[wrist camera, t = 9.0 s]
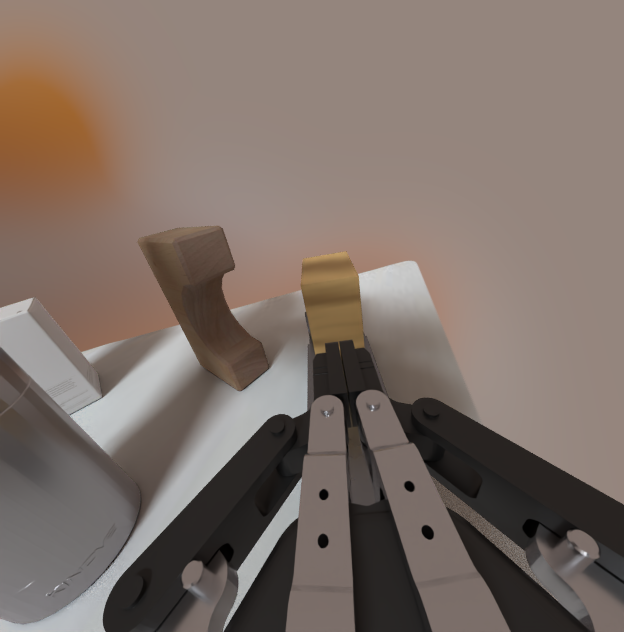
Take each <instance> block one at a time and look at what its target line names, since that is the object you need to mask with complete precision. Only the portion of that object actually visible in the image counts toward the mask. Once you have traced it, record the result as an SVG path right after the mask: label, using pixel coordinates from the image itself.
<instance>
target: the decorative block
mask: <svg viewBox="0 0 624 632" xmlns="http://www.w3.org/2000/svg"><path fill="white" fill-rule="evenodd" d="M138 244H139V246H140V248H141V250H142V252H143V254H144V256H145V258H146V260H147V261H148V264H149V265H150V267H151V269H152V271H153V273H154V275H155V277H156V279H157V281H158V283H159V285H160V287H161V288H162V291H163V293H164V295H165V297H166V298H167V300H168V302H169V304H170V306H171V308H172V310H173V312H174V314H175V316H176V318H177V320H178V322H179V324H180V326H181V328H182V330H183V332H184V333H185V335H186V337H187V339H188V341H189V343H190V345H191V347H192V349H193V351H194V353H195V355H196V357H197V359H198V361H199V363H200V364H201V366H203V367H204V368H206V369H207V370H209V371H210V372H211V373H213V374H214V375H216V376H217V377H219V378H220V379H222V380H223V381H225V382H226V383H227V384H229V385H230V386H232V387H233V388H235V389H236V390H238V391H242V390H243V389H244V388H245V387H246V386H248V385H249V384H250V383H251V382H253V381H254V380H255V379H256V378H257V377H259V376H260V375H261V374H262V373H264V372H265V371H266V370H267V369H268V368H269V364H268V361H267V358H266V355H265V352H264V349H263V346H262V343H261V342H259V341H258V340H256V339H255V338H253V337H252V336H250V335H249V334H248V333H247V332H246V331H245V329H244V328H243V327H242V326H241V325H240V324H239V323H238V321H237V320H236V319H235V317H234V316H233V314H232V313H231V311H230V309H229V307H228V305H227V303H226V301H225V298H224V294H223V291H222V278H223V276H224V274H225V273H227V272H229V271H232V270H234V268H235V264H234V261H233V258H232V255H231V252H230V249H229V246H228V243H227V240H226V237H225V234H224V231H223V228H221V227H219V226H205V227H187V228H176V229H172V230H168V231H164V232H160V233H157V234H153V235H149V236H145V237H141V238H139V239H138Z"/></svg>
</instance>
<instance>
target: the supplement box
mask: <svg viewBox="0 0 624 632" xmlns="http://www.w3.org/2000/svg"><path fill="white" fill-rule="evenodd" d="M0 347H1V348H2V349H3V350H4V351H5V352H6V353H7V354H8V355H9V356H10V357H11V358H12V359H13V360H14V361H15V362H16V363H17V364H18V365H19V366H20V367H21V368H22V369H23V370H24V371H25V372H26V373H27V374H28V375H30V377H31V378H32V379H33V380H34V381H35V382H36V383H37V384H38V385H39V386H40V387H41V388H42V389H43V390H44V391H45V392H46V393H47V394H48V395H49V396H50V397H51V398H52V399H53V400H54V401H55V402H56V403H57V404H58V405H59V406H60V407H61V408H62V409H63V410H64V411H65V412H66V413H67V414H68V415H70V414H72V413H74V412H75V411H77V410H79V409H81V408H83V407H85V406H87V405H88V404H90V403H92V402H94V401H96V400H98V399H100V398H101V397H102V393H101V387H100V381H99V375H98V373H97V371H96V370H95V369H94V368H93V367H92V365H91V364H90V363H89V362H88V360H87V359H86V358H85V357H84V356H83V354H82V353H81V352H80V351H79V349H78V348H77V347H76V346H75V345H74V343H73V342H72V341H71V340H70V339H69V338H68V336H67V335H66V334H65V333H64V331H63V330H62V329H61V328H60V326H59V325H58V324H57V323H56V322H55V320H54V319H53V318H52V317H51V315H50V314H49V313H48V312H47V311H46V309H45V308H44V307H43V306H42V304H41V303H40V302H39V301H38V300H37V298H36V297H34V298H30V299H27V300H24V301H21V302H18V303H14V304H12V305H8V306H5V307H2V308H0Z"/></svg>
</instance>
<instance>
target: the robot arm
mask: <svg viewBox="0 0 624 632" xmlns="http://www.w3.org/2000/svg"><path fill="white" fill-rule="evenodd" d="M339 345H340V350H339ZM325 350H326V353H319V354H316V356H315V358H314V359H313V385H314V401H313V404H312V406H311V408H310V409H309V410H308V411H307V412H305V413H304V414H302V415H300V416H298V417H295V418H293V419H292V418H291V417H290V416H288V415H285V414H279V415H275V416H273V417H271V418H270V419H268V420H267V421H266V422H265V423H264V424H263V425H262V426H261V427H260V429H259V430H258V431H257V432H256V433H255V434H254V435H253V436H252V437H251V438H250V439H249V440H248V441H247V442H246V443H245V445H244V446H243V447H242V448H241V449H240V450H239V451H238V452H237V453H236V454H235V455H234V456H233V457H232V458H231V459H230V460H229V462H228V463H227V464H226V465H225V466H224V467H223V468H222V469H221V470H220V471H219V472H218V473H217V474H216V475H215V476H214V478H213V479H212V480H211V481H210V482H209V483H208V484H207V485H206V486H205V487H204V488H203V489H202V490H201V491H200V492H199V493H198V495H197V496H196V497H195V498H194V499H193V500H192V501H191V502H190V503H189V504H188V505H187V506H186V507H185V508H184V509H183V511H182V512H181V513H180V514H179V515H178V516H177V517H176V518H175V519H174V520H173V521H172V522H171V523H170V524H169V525H168V526H167V528H166V529H165V530H164V531H163V532H162V533H161V534H160V535H159V536H158V537H157V538H156V539H155V540H154V541H153V542H152V544H151V545H150V546H149V547H148V548H147V549H146V550H145V551H144V552H143V553H142V554H141V555H140V556H139V557H138V558H137V559H136V561H135V562H134V563H133V564H132V565H131V566H130V567H129V568H128V569H127V570H126V571H125V572H124V573H123V575H122V576H121V577H120V578H119V580H118V581H117V582H116V584H115V586H114V587H113V589H112V591H111V593H110V595H109V597H108V599H107V602H106V605H105V608H104V613H103V626H104V629H105V631H106V632H223V628H224V625H225V622H226V619H227V617H228V615H229V613H230V611H231V609H232V607H233V605H234V602H235V600H236V596H237V592H238V575H237V570H238V569H239V567H240V566H241V564H242V563H243V562H244V560H245V559H246V557H247V556H248V554H249V553H250V551H251V550H252V548H253V547H254V546H255V544H256V543H257V541H258V540H259V538H260V537H261V535H262V534H263V532H264V531H265V530H266V528H267V527H268V525H269V524H270V522H271V521H272V519H273V518H274V516H275V515H276V513H277V512H278V511H279V509H280V508H281V506H282V505H283V503H284V502H285V500H286V499H287V497H288V496H289V495H290V493H291V492H292V490H293V489H294V487H295V486H296V484H297V483H298V481H299V480H300V479H301V477H302V483H301V495H300V507H299V517H298V518H297V519H296V520H295V521H294V522H292V523H291V524H290V526H289V527H288V528H287V529H286V530H285V531H284V533H283V534H282V535H281V537H280V538H279V540H278V542H277V543H276V545H275V547H274V548H273V550H272V552H271V553H270V555H269V557H268V558H267V560H266V562H265V563H264V565H263V567H262V568H261V570H260V572H259V573H258V575H257V577H256V578H255V580H254V582H253V583H252V585H251V587H250V588H249V590H248V592H247V593H246V595H245V597H244V598H243V600H242V602H241V604H240V605H239V607H238V609H237V610H236V612H235V614H234V615H233V617H232V619H231V620H230V622H229V624H228V625H227V627H226V629H225V630H224V632H624V505H623V504H622V503H620V502H618V501H616V500H614V499H613V498H611V497H609V496H607V495H605V494H604V493H602V492H600V491H598V490H597V489H595V488H593V487H591V486H590V485H588V484H586V483H584V482H582V481H581V480H579V479H577V478H575V477H574V476H572V475H570V474H568V473H566V472H565V471H563V470H561V469H559V468H557V467H556V466H554V465H552V464H550V463H549V462H547V461H545V460H543V459H542V458H540V457H538V456H536V455H535V454H533V453H531V452H529V451H527V450H525V449H524V448H522V447H520V446H519V445H517V444H515V443H513V442H511V441H510V440H508V439H506V438H504V437H502V436H501V435H499V434H497V433H495V432H494V431H492V430H490V429H488V428H487V427H485V426H483V425H481V424H479V423H478V422H476V421H474V420H472V419H471V418H469V417H467V416H465V415H463V414H462V413H460V412H458V411H456V410H455V409H453V408H451V407H449V406H447V405H446V404H444V403H442V402H440V401H438V400H436V399H433V398H421V399H418V400H416V401H415V402H414V403H413V405H411V404H405V403H399V402H396V401H394V400H392V399H390V398H389V397H387V396H386V395H385V393H384V392H383V389H382V387H381V384H380V381H379V378H378V375H377V372H376V369H375V366H374V363H373V361H372V358H371V355H370V353H369V352H368V351H367V350H366V349H365V348H364V347H363V348H356V349H355V347H354V343H353V340H352V339H351V340H344V341H339V344H338V341H337V342H330V343H325ZM340 353H341V355H340ZM349 408H350V411H349ZM350 414H351V419H352V425H353V427H358V431H359V437H360V445H361V448H362V452H363V456H364V459H365V463H366V467H367V470H368V474H369V477H370V481H371V485H372V489H373V494H374V499H375V503H374V504H372V505H369V506H364V505H360V504H355V503H353V497H352V486H351V472H350V458H349V445H348V443H349V434H348V428H351V419H350ZM430 475H431V476H432V477H434V478H435V479H436V480H437V481H439V482H440V483H441V484H442V485H444V486H445V487H446V488H447V489H449V490H450V491H451V492H452V493H454V494H455V495H456V496H457V497H459V498H460V499H461V500H462V501H463V502H465V503H466V504H467V505H468V506H470V507H471V508H472V509H473V510H475V511H476V512H477V513H478V514H480V515H481V516H482V517H483V518H485V519H486V520H487V521H488V522H490V523H491V524H492V525H493V526H495V527H496V528H497V529H498V530H500V531H501V532H502V533H503V534H505V535H506V536H507V537H508V538H510V539H511V540H512V541H513V542H515V543H516V544H517V545H518V546H520V547H521V548H522V549H523V550H525V553H526V558H527V561H528V564H529V566H530V568H531V570H532V572H533V573H534V575H535V576H536V577H537V579H538V580H539V581H540V582H541V584H542V585H543V586H544V587H545V588H546V589H547V590H548V591H549V592H550V593H551V594H552V595H553V596H554V597H555V598H556V599H557V600H558V601H557V600H556V599H554V598H553V597H552V596H551V595H550V594H549V593H548V592H547V591H545V590H544V589H543V588H542V587H541V586H540V585H539V584H538V583H536V582H535V581H534V580H533V579H532V578H531V577H530V576H529V575H527V574H526V573H525V572H524V571H523V570H522V569H521V568H520V567H519V566H517V565H516V564H515V563H514V562H513V561H512V560H511V559H510V558H508V557H507V556H506V555H505V554H504V553H503V552H502V551H501V550H499V549H498V548H497V547H496V546H495V545H494V544H493V543H492V542H490V541H489V540H488V539H487V538H486V537H485V536H484V535H483V534H481V533H480V532H479V531H478V530H477V529H476V528H475V527H474V526H472V525H471V524H470V523H469V522H468V521H467V520H466V519H464V518H463V517H461V516H460V515H459V514H457V513H456V512H454V511H452V510H451V509H449V508H447V507H445V505H444V503H443V501H442V499H441V497H440V495H439V493H438V490H437V488H436V486H435V484H434V482H433V480H432V478H431V476H430ZM140 502H141V497H140V490H139V488H138V486H137V484H136V483H135V482H134V481H133V480H132V479H131V478H130V477H129V476H128V475H127V474H126V473H125V472H124V471H123V470H122V469H121V468H120V467H119V466H118V465H117V464H116V463H115V462H114V461H113V459H112V458H111V457H110V456H109V455H108V454H107V453H106V452H105V451H104V450H103V449H102V448H101V447H100V446H99V445H98V444H97V443H96V442H95V441H94V440H93V439H92V438H91V437H90V436H89V435H88V434H87V433H86V432H85V431H84V430H83V429H82V428H81V427H80V426H79V425H78V424H77V423H76V422H75V421H74V420H73V419H72V418H71V417H70V416H69V415H68V414H67V413H66V412H65V411H64V410H63V409H62V408H61V407H60V406H59V405H58V404H57V403H56V402H55V401H54V400H53V399H52V398H51V397H50V396H49V395H48V394H47V393H46V392H45V391H44V390H43V389H42V388H41V387H40V386H39V385H38V384H37V383H36V382H35V381H34V380H33V379H32V378H31V377H30V375H28V374H27V373H26V372H25V371H24V370H23V369H22V368H21V367H20V366H19V365H18V364H17V363H16V362H15V361H14V360H13V359H12V358H11V357H10V356H9V355H8V354H7V353H6V352H5V351H4V350H3V349H2V348H1V347H0V619H3V620H6V621H9V622H12V623H18V624H27V623H32V622H37V621H39V620H42V619H44V618H46V617H48V616H50V615H52V614H54V613H56V612H57V611H59V610H60V609H62V608H63V607H65V606H66V605H68V604H69V603H71V602H72V601H73V600H75V599H76V598H77V597H78V596H79V595H80V594H82V593H83V592H84V591H85V590H86V589H87V588H89V587H90V585H91V584H92V583H93V582H94V581H95V580H96V579H97V578H98V577H99V576H100V575H101V574H102V573H103V572H104V571H105V569H106V568H107V567H108V566H109V564H110V563H111V562H112V561H113V559H114V558H115V557H116V556H117V554H118V553H119V551H120V550H121V548H122V546H123V545H124V543H125V542H126V540H127V538H128V536H129V534H130V533H131V531H132V529H133V527H134V525H135V522H136V519H137V516H138V513H139V508H140Z"/></svg>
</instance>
